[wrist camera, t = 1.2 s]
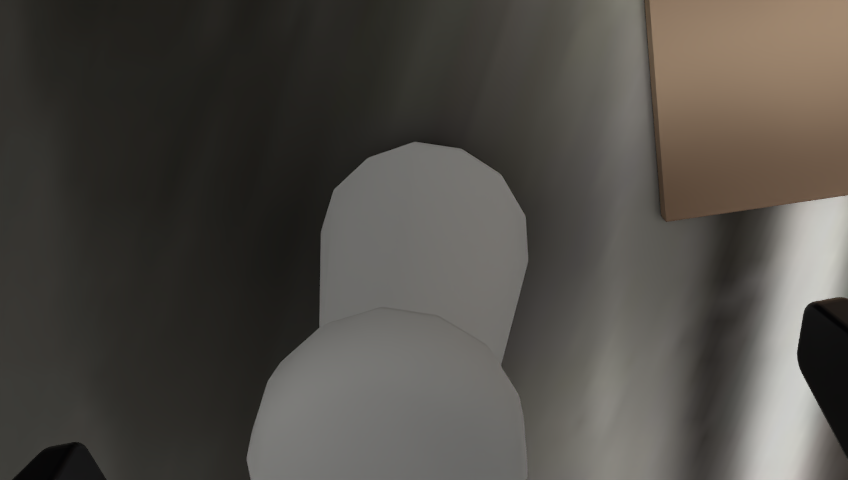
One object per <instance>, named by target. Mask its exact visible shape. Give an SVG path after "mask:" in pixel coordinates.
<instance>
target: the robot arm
mask: <svg viewBox="0 0 848 480" xmlns="http://www.w3.org/2000/svg"><path fill="white" fill-rule="evenodd" d="M797 358H798V364H799V367H800V370H801V372H802V374H803V376H804V378H805V380H806V382H807V384H808V386H809V387H810V389H811V391H812V393H813V395H814V397H815V399H816V401H817V403H818V405H819V407H820V408H821V410H822V412H823V414H824V416H825V418H826V420H827V422H828V424H829V426H830V428H831V429H832V431H833V433H834V435H835V437H836V439H837V441H838V443H839V445H840V447H841V449H842V450H843V452H844V454H845V456H846V458H847V460H848V299H847V298H842V297H837V298H831V299H826V300H821V301H815V302H812V303H810V304H808V305H807V307H806V308H805V310H804V314H803V320H802V326H801V332H800V338H799V344H798V350H797ZM12 480H106V478H105V477H104V475H103V473H102V472H101V470H100V468H99V467H98V465H97V464H96V462H95V460H94V459H93V457H92V456H91V454H90V452H89V451H88V449H87V448H86V447H85V446H84V445H83V444H81V443H79V442H72V443H67V444H62V445H56V446H51V447H48V448H46V449H44V450H43V451H41V452H40V453H39V454H38V455H37V456H36V457H35V458H34V459H33V460H32V461H31V462H30V463H29V464H28V465H27V466H26V467H25V468H24V469H23V470H22V471H21V472H20V473H19V474H18V475H16V476H15V477H14V478H13V479H12Z"/></svg>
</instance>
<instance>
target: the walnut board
mask: <svg viewBox="0 0 848 480" xmlns="http://www.w3.org/2000/svg"><path fill="white" fill-rule="evenodd" d="M645 13H646V26H647V39H648V52H649V65H650V78H651V91H652V103H653V116H654V129H655V142H656V155H657V168H658V181H659V194H660V207H661V216H662V217H663V219H664V220H665V221H666V222H669V221H675V220H682V219H689V218H696V217H702V216H709V215H716V214H723V213H730V212H736V211H743V210H750V209H757V208H763V207H770V206H777V205H784V204H791V203H797V202H804V201H811V200H818V199H824V198H831V197H838V196H845V195H848V0H645Z"/></svg>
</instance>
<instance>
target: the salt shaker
mask: <svg viewBox="0 0 848 480" xmlns="http://www.w3.org/2000/svg"><path fill="white" fill-rule="evenodd" d="M527 264H528V247H527V230H526V216H525V214H524V213H523V211H522V209H521V208H520V206H519V204H518V202H517V201H516V199H515V197H514V196H513V194H512V192H511V190H510V189H509V187H508V185H507V184H506V182H505V180H504V178H503V177H502V175H501V174H500V173H498V172H497V171H495V170H494V169H492V168H491V167H489V166H488V165H486V164H485V163H483V162H481V161H480V160H478V159H477V158H475V157H474V156H472V155H471V154H469V153H467V152H466V151H464V150H463V149H461V148H454V147H447V146H441V145H434V144H427V143H420V142H412V143H410V144H407V145H404V146H401V147H398V148H395V149H392V150H389V151H386V152H383V153H380V154H377V155H374V156H372V157H369V158H367V159H366V160H365V161H364V162H363V163H362V164H361V165H360V166H359V167H358V168H356V169H355V170H354V171H353V172H352V173H351V174H350V175H349V176H348V177H347V178H346V179H345V180H344V181H343V182H341V183H340V184H339V185H338V186H337V187H336V188H335V189H334V190H333V194H332V197H331V200H330V204H329V207H328V210H327V213H326V217H325V220H324V223H323V227H322V230H321V254H320V318H319V329H317V330H316V331H315V332H314V333H313V334H312V335H311V336H310V337H308V338H307V339H306V340H305V341H304V342H303V343H302V344H300V345H299V346H298V347H297V348H296V349H295V350H294V351H293V352H291V353H290V354H289V355H288V356H287V357H286V358H285V359H283V360H282V361H281V362H280V364H279V365H278V367H277V368H276V370H275V371H274V373H273V374H272V376H271V377H270V379H269V380H268V382H267V385H266V388H265V391H264V395H263V398H262V401H261V404H260V407H259V411H258V414H257V417H256V420H255V423H254V427H253V430H252V434H251V439H250V444H249V449H248V454H247V464H248V469H249V473H250V478H251V480H527V475H528V465H527V452H526V439H525V426H524V416H523V411H522V407H521V402H520V397H519V394H518V393H517V391H516V390H515V388H514V386H513V385H512V383H511V382H510V380H509V378H508V377H507V375H506V374H505V372H504V370H503V369H502V367H501V364H502V360H503V356H504V352H505V348H506V345H507V341H508V337H509V333H510V329H511V325H512V322H513V318H514V314H515V310H516V306H517V302H518V299H519V295H520V291H521V287H522V283H523V279H524V276H525V272H526V268H527Z"/></svg>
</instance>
